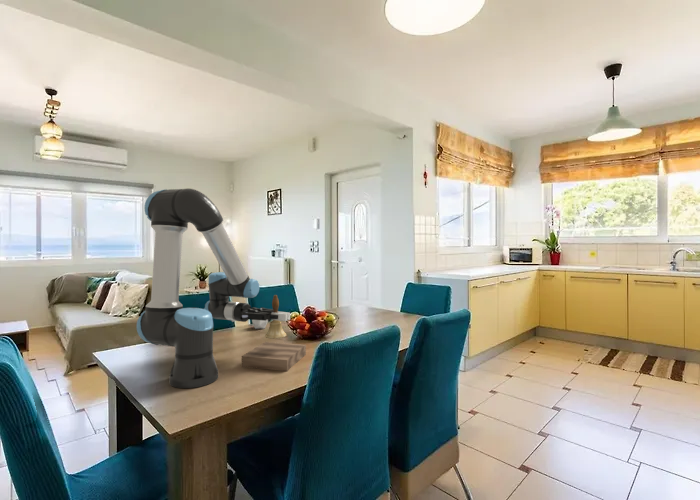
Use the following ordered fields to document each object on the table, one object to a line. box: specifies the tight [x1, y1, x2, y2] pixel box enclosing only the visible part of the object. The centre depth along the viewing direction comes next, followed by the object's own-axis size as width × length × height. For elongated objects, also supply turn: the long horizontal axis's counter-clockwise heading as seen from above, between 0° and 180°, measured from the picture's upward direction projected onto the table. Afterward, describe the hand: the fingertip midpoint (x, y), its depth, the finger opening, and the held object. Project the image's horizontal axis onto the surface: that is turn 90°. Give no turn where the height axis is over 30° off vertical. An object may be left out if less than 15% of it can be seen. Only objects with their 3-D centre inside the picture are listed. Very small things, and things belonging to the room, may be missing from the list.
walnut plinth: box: [241, 341, 307, 372], centre depth 144 cm, size 20×18×4 cm
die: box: [251, 319, 269, 330], centre depth 196 cm, size 8×9×10 cm
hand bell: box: [264, 294, 287, 340], centre depth 143 cm, size 8×8×16 cm
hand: (287, 316), depth 141 cm, fingers closed on hand bell, 2 cm apart
